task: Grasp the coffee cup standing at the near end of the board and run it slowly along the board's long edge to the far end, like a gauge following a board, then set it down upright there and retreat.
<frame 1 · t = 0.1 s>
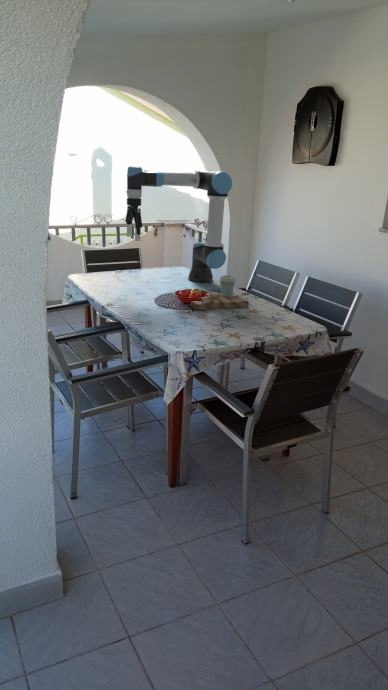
hand: (133, 238, 275), 28 cm above the table, fingers open, 13 cm apart
gauge: (215, 301, 260), point 3 cm above the table, touching board
coffee cup: (226, 299, 278), on the table
board: (218, 305, 264), on the table
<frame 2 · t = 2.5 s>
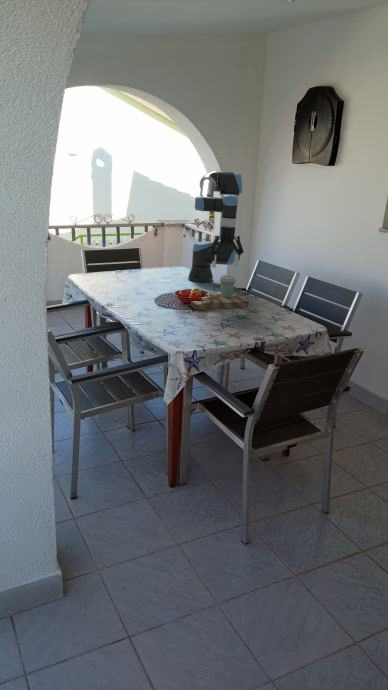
hand: (224, 266, 272), 17 cm above the table, fingers open, 13 cm apart
nothing on the table moved.
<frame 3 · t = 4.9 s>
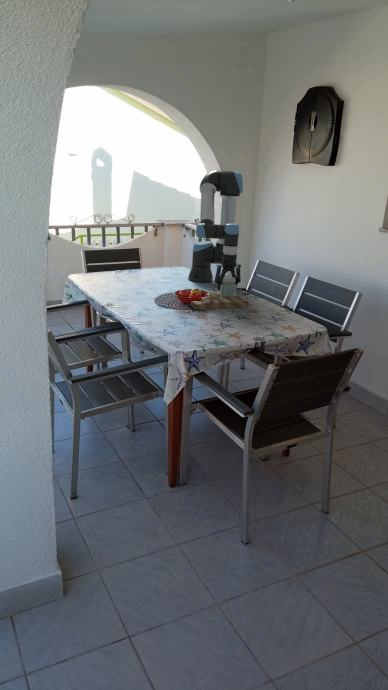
hand: (226, 295, 277), 2 cm above the table, fingers closed on coffee cup, 8 cm apart
coffee cup: (226, 298, 278), on the table, touching gripper
everything else where it was.
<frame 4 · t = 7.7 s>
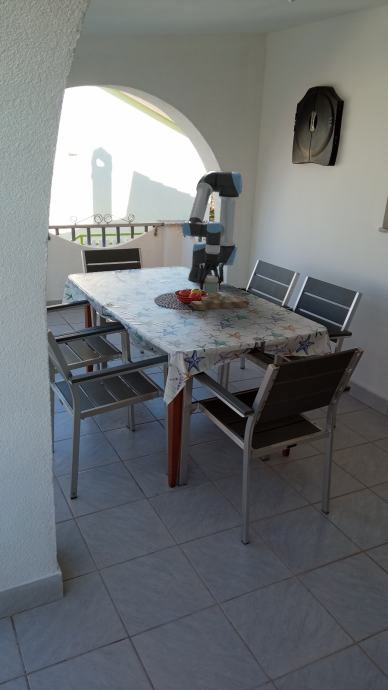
hand: (209, 295, 273), 2 cm above the table, fingers closed on coffee cup, 8 cm apart
coffee cup: (209, 298, 273), point 1 cm above the table, touching gripper
everything else where it was.
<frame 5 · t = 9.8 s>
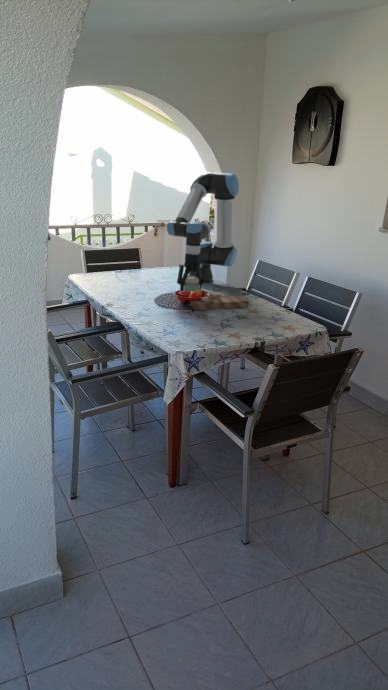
hand: (190, 296, 268), 2 cm above the table, fingers closed on coffee cup, 8 cm apart
coffee cup: (189, 300, 268), point 1 cm above the table, touching gripper
everything else where it was.
when the fingers open (2 cm above the table, at t = 10.9 s): coffee cup stays where it is, on the table.
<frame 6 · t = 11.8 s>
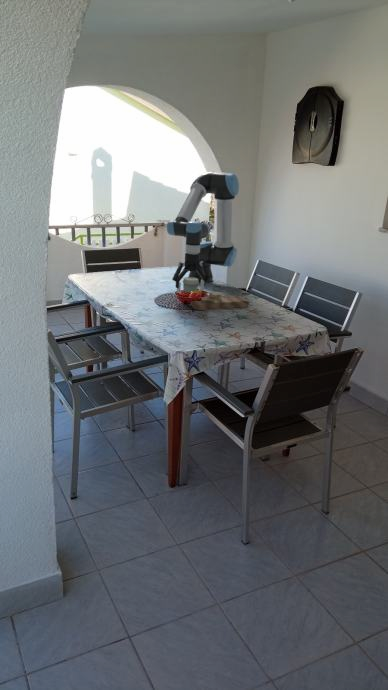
hand: (190, 293, 267), 4 cm above the table, fingers open, 13 cm apart
coffee cup: (189, 301, 269), on the table
everything else where it was.
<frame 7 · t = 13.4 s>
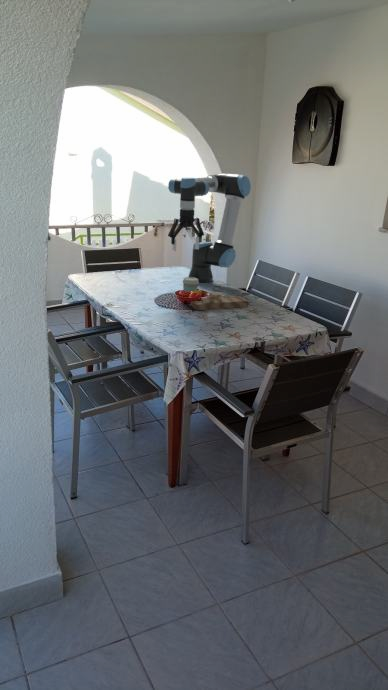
hand: (185, 249, 273), 24 cm above the table, fingers open, 13 cm apart
nothing on the table moved.
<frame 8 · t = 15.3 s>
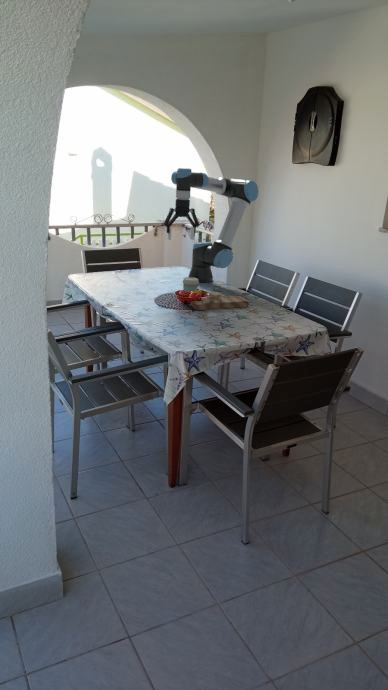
hand: (180, 239, 278), 29 cm above the table, fingers open, 13 cm apart
nothing on the table moved.
at the end: coffee cup inside the target area (0.2 cm from its centre), on the table; coffee cup tilted 0°; the gripper is holding nothing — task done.
